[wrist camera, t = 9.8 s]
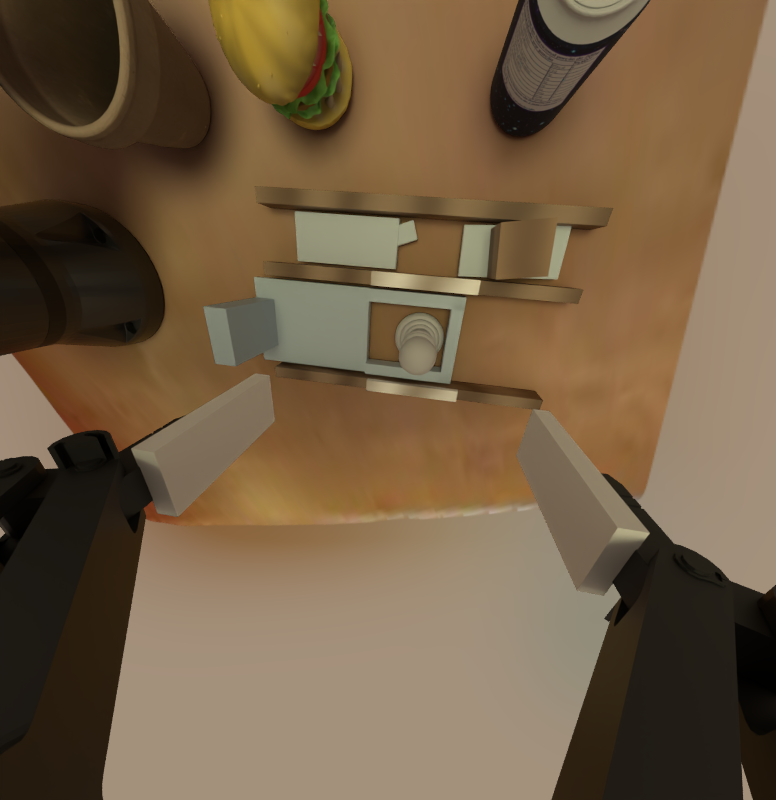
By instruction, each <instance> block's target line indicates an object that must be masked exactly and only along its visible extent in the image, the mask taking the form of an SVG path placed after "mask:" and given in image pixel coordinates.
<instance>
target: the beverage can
mask: <svg viewBox="0 0 776 800" xmlns="http://www.w3.org/2000/svg"><path fill="white" fill-rule="evenodd" d="M649 2H650V0H519V1H518V4H517V7H516V10H515V13H514V16H513V19H512V22H511V25H510V28H509V31H508V34H507V37H506V40H505V43H504V47H503V50H502V53H501V56H500V59H499V62H498V65H497V68H496V71H495V74H494V77H493V81H492V86H491V108H492V112H493V115H494V118H495V120H496V122H497V123H498V125H499V126H500V127H501V128H502V129H503V130H504V131H505V132H507V133H509V134H511V135H514V136H528V135H531V134H534V133H536V132H538V131H540V130H541V129H543V128H544V127H545V126H547V125H548V124H549V123H550V122H551V121H552V120H553V119H554V118H555V116H556V115H557V114H558V113H559V112H560V110H561V109H562V108H563V107H564V106H565V104H566V103H567V102H568V101H569V99H570V98H571V97H572V96H573V95H574V93H575V92H576V91H577V90H578V89H579V87H580V86H581V85H582V84H583V83H584V81H585V80H586V79H587V78H588V76H589V75H590V74H591V73H592V72H593V70H594V69H595V68H596V67H597V66H598V64H599V63H600V62H601V61H602V59H603V58H604V57H605V56H606V55H607V53H608V52H609V51H610V50H611V49H612V47H613V46H614V45H615V44H616V43H617V41H618V40H619V39H620V38H621V36H622V35H623V34H624V33H625V32H626V30H627V29H628V28H629V27H630V26H631V24H632V23H633V22H634V21H635V19H636V18H637V17H638V16H639V15H640V13H641V12H642V11H643V10H644V8H645V7H646V6H647V4H648V3H649Z"/></svg>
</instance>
